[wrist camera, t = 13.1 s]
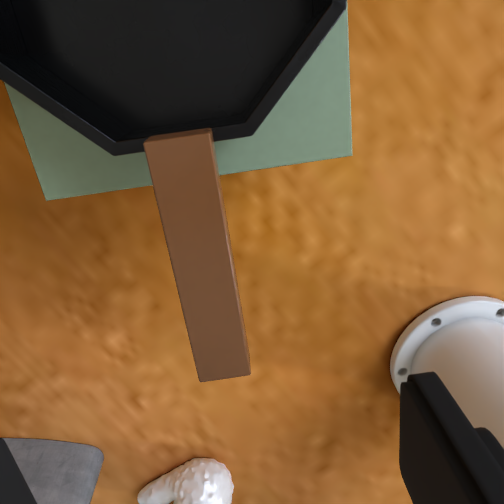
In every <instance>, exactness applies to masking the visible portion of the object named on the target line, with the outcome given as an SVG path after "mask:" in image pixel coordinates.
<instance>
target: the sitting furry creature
mask: <svg viewBox="0 0 504 504" xmlns="http://www.w3.org/2000/svg"><path fill="white" fill-rule="evenodd" d="M231 478H232V477H231V474H230V472H229V470H228V469H227V468H226V466H225V464H222V463H221V462H217V461H216V460H215V459H212V458H210V459H208V458H193V459H192V460H191V461H187V462H186V463H185V464H184V465H180V466H179V467H178V468H174V470H172V471H171V472H169V473H167V474H165V475H162V476H161V477H160V478H158V479H156V480H154V481H152V482H150V483H149V484H147V485H146V486H145V487H144V488H143V489H142V490H141V491H140V492H139V494H138V503H139V504H169V503H170V502H171V501H173V500H174V503H173V504H231V501H232V494H233V488H234V485H233V483H232V481H231Z"/></svg>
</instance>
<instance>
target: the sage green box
mask: <svg viewBox="0 0 504 504" xmlns="http://www.w3.org/2000/svg"><path fill="white" fill-rule="evenodd" d="M346 2H347V0H346ZM4 84H5V86H6V89H7V92H8V95H9V98H10V100H11V103H12V106H13V109H14V112H15V115H16V117H17V120H18V123H19V126H20V129H21V131H22V134H23V137H24V140H25V143H26V146H27V148H28V151H29V154H30V157H31V160H32V163H33V165H34V168H35V171H36V174H37V177H38V179H39V182H40V185H41V188H42V191H43V194H44V196H45V199H46V201H48V200H55V199H62V198H69V197H75V196H82V195H89V194H96V193H103V192H109V191H116V190H123V189H130V188H136V187H143V186H150V185H153V184H152V180H151V176H150V171H149V167H148V163H147V159H146V155H145V152H140V153H133V154H126V155H119V156H112V155H111V154H110V153H108V152H107V151H105V150H104V149H102V148H101V147H99V146H98V145H96V144H95V143H93V142H92V141H90V140H89V139H87V138H86V137H84V136H83V135H82V134H80V133H79V132H77V131H76V130H74V129H73V128H71V127H70V126H68V125H67V124H65V123H64V122H62V121H61V120H59V119H58V118H56V117H55V116H54V115H52V114H51V113H49V112H48V111H46V110H45V109H43V108H42V107H40V106H39V105H37V104H36V103H34V102H33V101H31V100H30V99H28V98H27V97H26V96H24V95H23V94H21V93H20V92H18V91H17V90H15V89H14V88H12V87H11V86H9V85H8V84H6V83H5V82H4ZM214 146H215V152H216V158H217V164H218V170H219V175H225V174H231V173H238V172H245V171H252V170H258V169H265V168H272V167H279V166H286V165H292V164H299V163H306V162H313V161H319V160H326V159H333V158H340V157H347V156H352V130H351V100H350V71H349V42H348V12H347V7H346V10H345V11H344V13H343V14H342V15H341V17H340V18H339V20H338V21H337V22H336V24H335V25H334V26H333V28H332V29H331V30H330V32H329V33H328V34H327V36H326V37H325V38H324V40H323V41H322V43H321V44H320V45H319V47H318V48H317V49H316V51H315V52H314V53H313V55H312V56H311V57H310V59H309V60H308V61H307V63H306V64H305V66H304V67H303V68H302V70H301V71H300V72H299V74H298V75H297V76H296V78H295V79H294V80H293V82H292V83H291V85H290V86H289V87H288V89H287V90H286V91H285V93H284V94H283V95H282V97H281V98H280V99H279V101H278V102H277V103H276V105H275V106H274V108H273V109H272V110H271V112H270V113H269V114H268V116H267V117H266V118H265V120H264V121H263V122H262V124H261V125H260V126H259V128H258V129H257V131H256V132H255V133H254V135H252V136H250V137H243V138H236V139H229V140H222V141H216V142H214Z"/></svg>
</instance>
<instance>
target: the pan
mask: <svg viewBox="0 0 504 504" xmlns="http://www.w3.org/2000/svg"><path fill="white" fill-rule="evenodd" d="M346 7H347V2H346V0H0V80H2V81H3V82H5V83H6V84H8V85H9V86H11V87H12V88H14V89H15V90H17V91H18V92H20V93H21V94H23V95H24V96H26V97H27V98H28V99H30V100H31V101H33V102H34V103H36V104H37V105H39V106H40V107H42V108H43V109H45V110H46V111H48V112H49V113H51V114H52V115H54V116H55V117H56V118H58V119H59V120H61V121H62V122H64V123H65V124H67V125H68V126H70V127H71V128H73V129H74V130H76V131H77V132H79V133H80V134H82V135H83V136H84V137H86V138H87V139H89V140H90V141H92V142H93V143H95V144H96V145H98V146H99V147H101V148H102V149H104V150H105V151H107V152H108V153H110V154H111V155H112V156H119V155H126V154H133V153H140V152H145V155H146V159H147V163H148V167H149V171H150V176H151V180H152V184H153V188H154V193H155V197H156V201H157V205H158V209H159V214H160V218H161V222H162V226H163V230H164V235H165V239H166V243H167V247H168V252H169V256H170V260H171V264H172V268H173V273H174V277H175V281H176V285H177V289H178V294H179V298H180V302H181V306H182V310H183V315H184V319H185V323H186V327H187V332H188V336H189V340H190V344H191V348H192V353H193V357H194V361H195V365H196V369H197V374H198V378H199V381H200V382H206V381H213V380H220V379H227V378H233V377H240V376H247V375H250V374H251V369H250V357H249V349H248V343H247V337H246V331H245V325H244V319H243V313H242V307H241V301H240V295H239V289H238V283H237V277H236V271H235V265H234V259H233V253H232V247H231V241H230V235H229V229H228V223H227V217H226V211H225V205H224V199H223V193H222V187H221V181H220V175H219V170H218V164H217V158H216V152H215V146H214V142H216V141H222V140H229V139H236V138H243V137H250V136H252V135H254V133H255V132H256V131H257V129H258V128H259V126H260V125H261V124H262V122H263V121H264V120H265V118H266V117H267V116H268V114H269V113H270V112H271V110H272V109H273V108H274V106H275V105H276V103H277V102H278V101H279V99H280V98H281V97H282V95H283V94H284V93H285V91H286V90H287V89H288V87H289V86H290V85H291V83H292V82H293V80H294V79H295V78H296V76H297V75H298V74H299V72H300V71H301V70H302V68H303V67H304V66H305V64H306V63H307V61H308V60H309V59H310V57H311V56H312V55H313V53H314V52H315V51H316V49H317V48H318V47H319V45H320V44H321V43H322V41H323V40H324V38H325V37H326V36H327V34H328V33H329V32H330V30H331V29H332V28H333V26H334V25H335V24H336V22H337V21H338V20H339V18H340V17H341V15H342V14H343V13H344V11H345V10H346Z"/></svg>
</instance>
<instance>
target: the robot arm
mask: <svg viewBox="0 0 504 504" xmlns="http://www.w3.org/2000/svg"><path fill="white" fill-rule="evenodd" d="M390 372H391V377H392V380H393V383H394V385H395V387H396V389H397V391H398V392H399V394H400V448H399V465H400V470H401V474H402V478H403V480H404V483H405V485H406V488H407V490H408V492H409V495H410V497H411V499H412V502H413V504H504V302H503V301H501V300H499V299H496V298H491V297H486V296H467V297H460V298H455V299H452V300H449V301H446V302H443V303H441V304H439V305H436V306H434V307H432V308H430V309H429V310H427V311H426V312H424V313H423V314H421V315H420V316H418V317H417V318H416V319H415V320H414V321H413V322H412V323H411V324H410V325H409V326H408V327H407V328H406V329H405V330H404V332H403V333H402V334H401V336H400V337H399V339H398V341H397V343H396V345H395V346H394V349H393V352H392V356H391V362H390ZM0 504H37V502H36V500H35V498H34V496H33V494H32V492H31V490H30V488H29V486H28V484H27V483H26V481H25V479H24V477H23V475H22V473H21V471H20V469H19V467H18V465H17V463H16V461H15V459H14V457H13V455H12V453H11V451H10V450H9V448H8V446H7V444H6V442H5V440H4V439H2V438H0Z"/></svg>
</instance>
